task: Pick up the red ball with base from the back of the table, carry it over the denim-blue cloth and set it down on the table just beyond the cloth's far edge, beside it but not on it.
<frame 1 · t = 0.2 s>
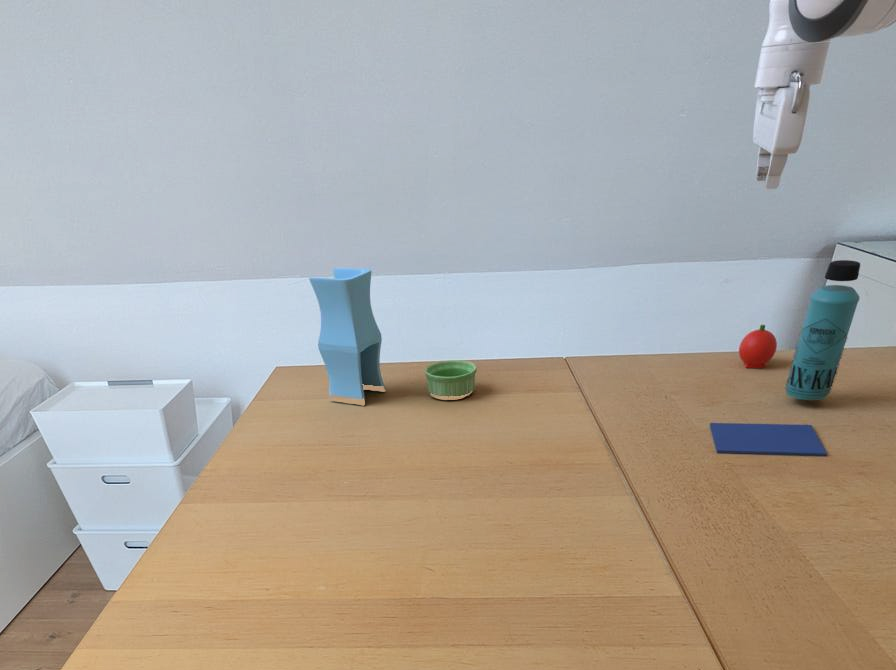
hand: (765, 184, 109), 27 cm above the table, tool pointing down, fingers open, 8 cm apart
cloth: (764, 439, 100), on the table
red ball with base: (753, 365, 124), on the table
vase: (356, 397, 126), on the table
beverage bottle: (804, 403, 110), on the table
ramekin: (451, 394, 124), on the table
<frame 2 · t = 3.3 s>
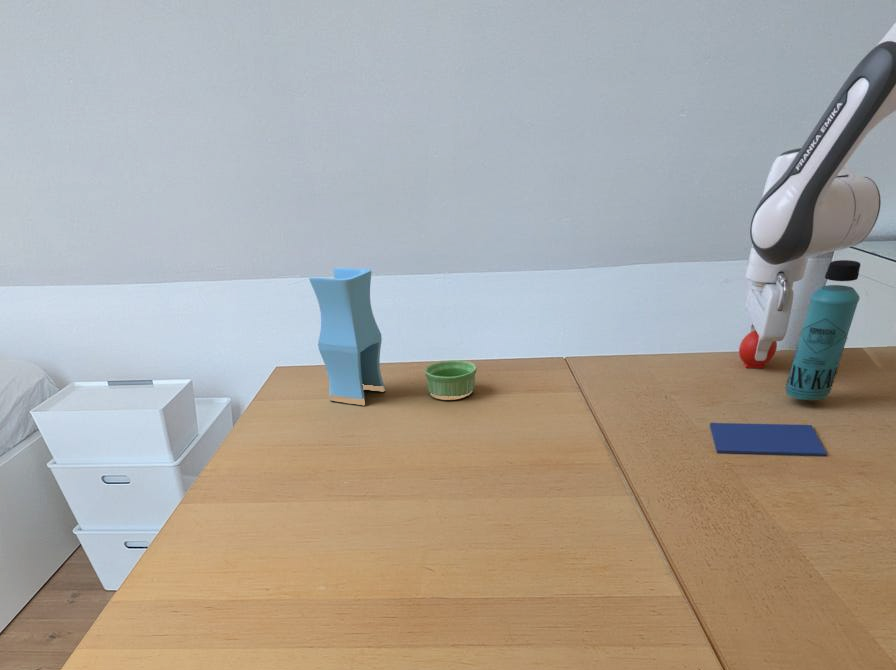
hand: (756, 352, 123), 2 cm above the table, tool pointing down, fingers closed on red ball with base, 6 cm apart
red ball with base: (753, 365, 124), on the table, touching gripper
everything else where it was.
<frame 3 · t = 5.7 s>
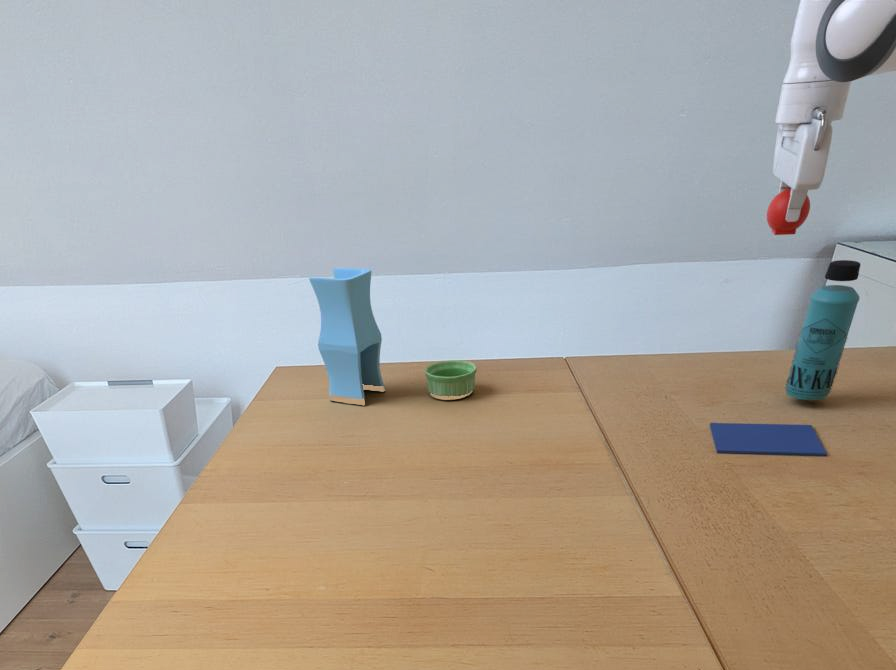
hand: (786, 217, 109), 23 cm above the table, tool pointing down, fingers closed on red ball with base, 6 cm apart
red ball with base: (783, 233, 110), point 21 cm above the table, touching gripper
everything else where it was.
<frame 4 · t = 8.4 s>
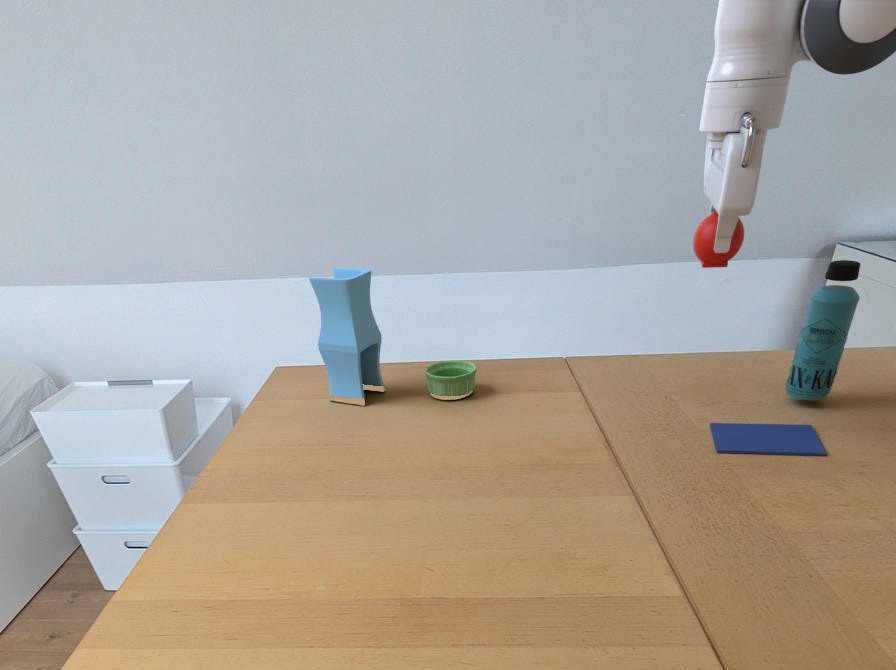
hand: (717, 246, 89), 25 cm above the table, tool pointing down, fingers closed on red ball with base, 6 cm apart
red ball with base: (713, 265, 90), point 22 cm above the table, touching gripper
everything else where it was.
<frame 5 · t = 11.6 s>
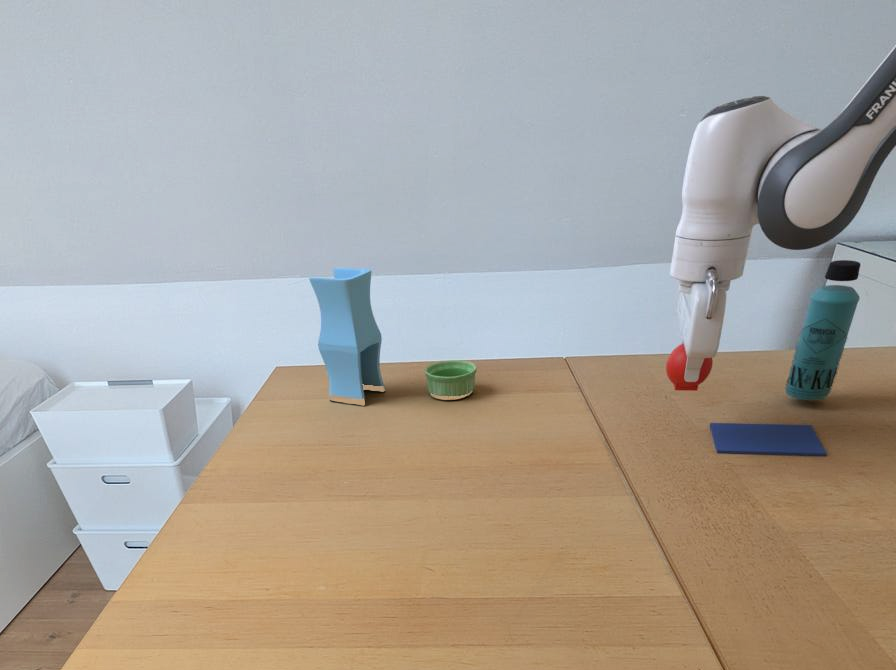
hand: (688, 371, 97), 10 cm above the table, tool pointing down, fingers closed on red ball with base, 6 cm apart
red ball with base: (685, 386, 98), point 8 cm above the table, touching gripper
everything else where it was.
when the fingers open (2 cm above the table, at t = 13.9 s): red ball with base stays where it is, on the table.
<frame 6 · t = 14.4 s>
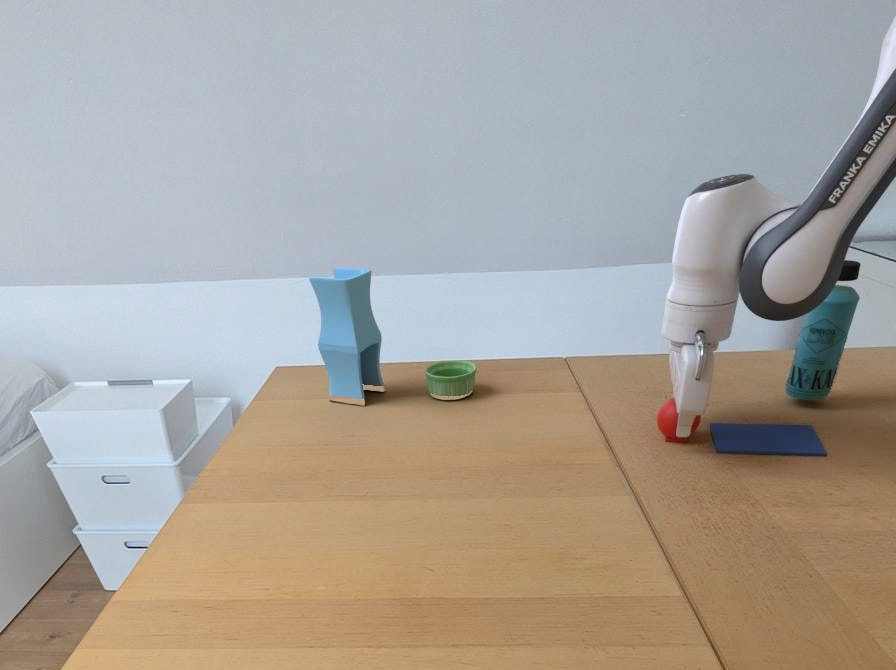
hand: (680, 422, 101), 2 cm above the table, tool pointing down, fingers open, 8 cm apart
red ball with base: (675, 437, 103), on the table
everything else where it was.
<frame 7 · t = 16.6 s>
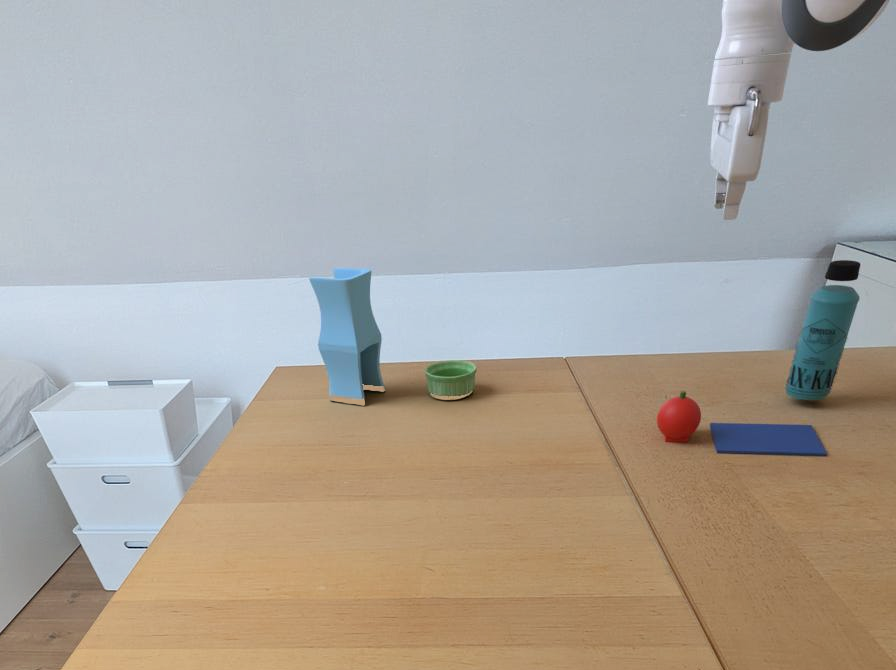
hand: (724, 213, 97), 26 cm above the table, tool pointing down, fingers open, 8 cm apart
nothing on the table moved.
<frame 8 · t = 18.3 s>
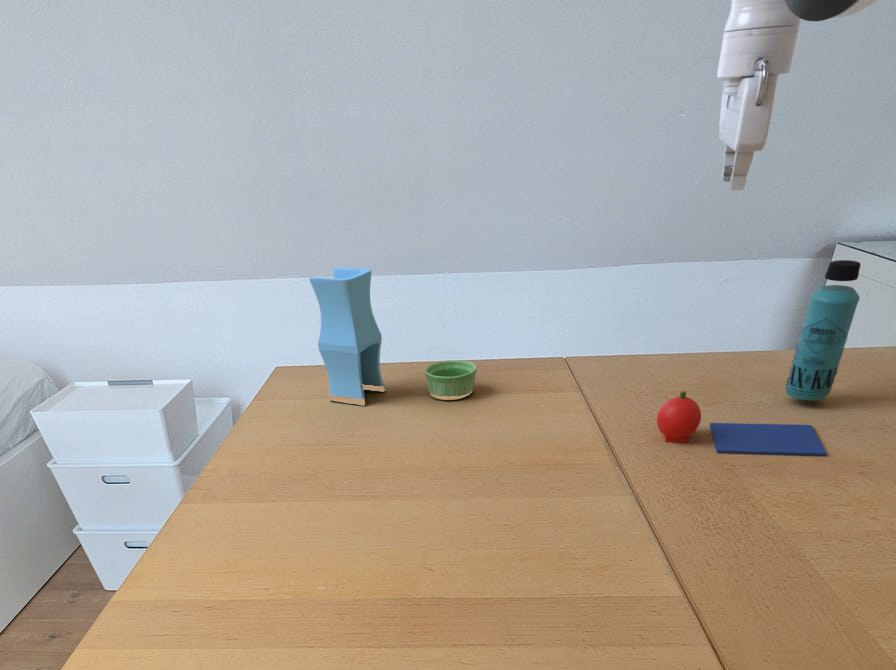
hand: (732, 185, 99), 29 cm above the table, tool pointing down, fingers open, 8 cm apart
nothing on the table moved.
at the end: red ball with base inside the target area on the table beside the cloth (0.7 cm from its centre), on the table; red ball with base touching table; the gripper is holding nothing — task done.
